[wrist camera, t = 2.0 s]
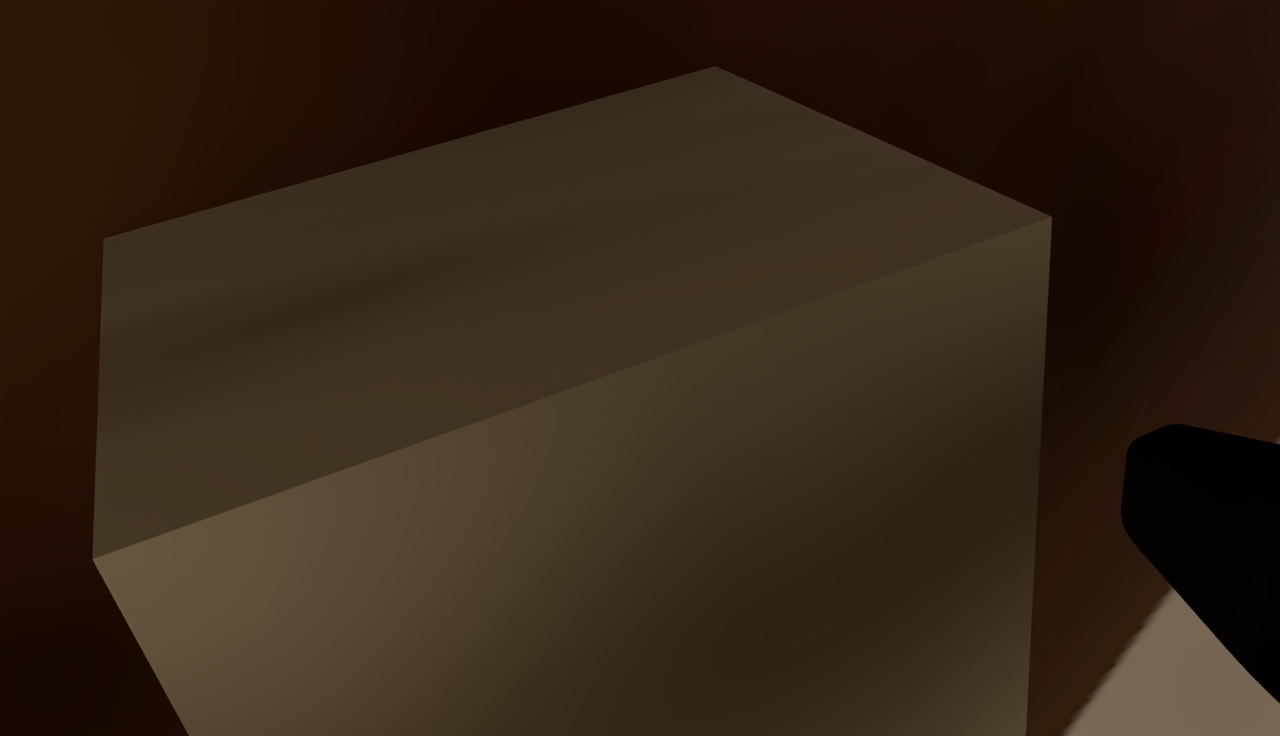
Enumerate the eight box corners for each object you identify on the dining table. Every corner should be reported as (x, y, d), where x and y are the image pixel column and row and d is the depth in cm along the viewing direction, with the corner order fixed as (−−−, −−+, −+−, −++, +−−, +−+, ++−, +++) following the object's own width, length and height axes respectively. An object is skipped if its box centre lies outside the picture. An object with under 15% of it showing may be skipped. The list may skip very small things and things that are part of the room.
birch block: (763, 514, 14) (1022, 801, 10) (312, 700, 13) (404, 1130, 9) (711, 63, 11) (1052, 217, 7) (103, 233, 10) (92, 560, 5)
